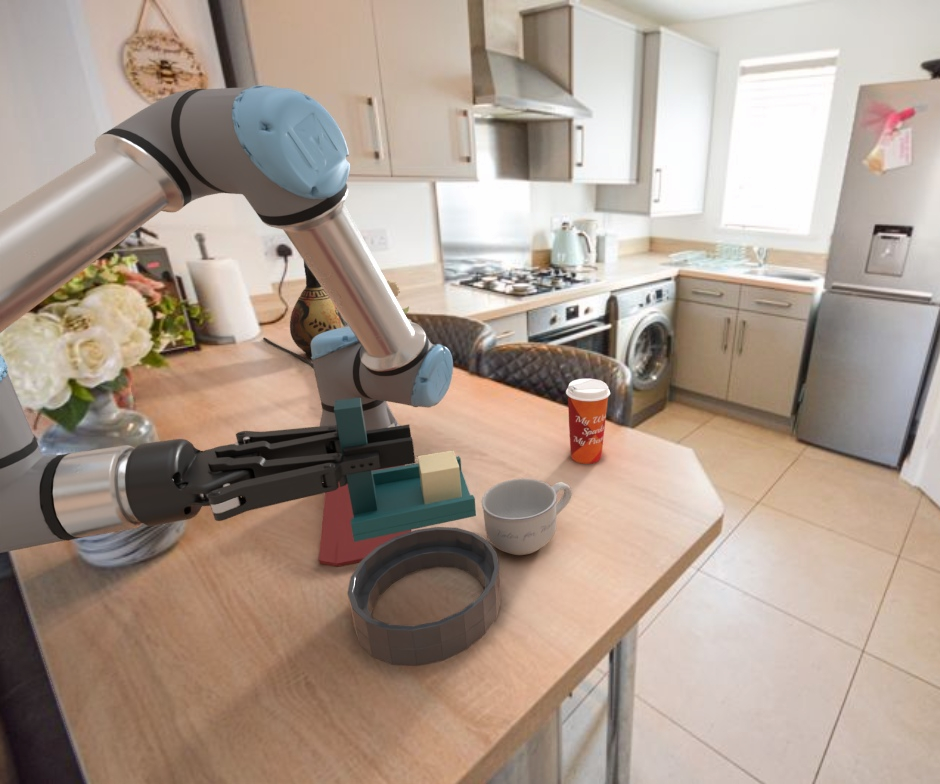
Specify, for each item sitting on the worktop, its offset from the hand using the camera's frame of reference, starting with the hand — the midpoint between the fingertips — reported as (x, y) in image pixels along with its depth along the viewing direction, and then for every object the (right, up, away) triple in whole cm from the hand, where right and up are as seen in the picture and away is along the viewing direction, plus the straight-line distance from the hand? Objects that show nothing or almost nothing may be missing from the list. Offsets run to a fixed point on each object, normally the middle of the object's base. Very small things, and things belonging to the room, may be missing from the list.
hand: (411, 443), depth 55 cm
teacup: (+10, -17, +22) cm, 30 cm away
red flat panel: (-16, -14, +27) cm, 35 cm away
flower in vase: (-32, +12, +88) cm, 95 cm away
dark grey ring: (-1, -22, +9) cm, 24 cm away
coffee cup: (+19, -7, +46) cm, 50 cm away
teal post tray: (-1, -7, +3) cm, 8 cm away
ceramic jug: (-60, +17, +99) cm, 117 cm away
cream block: (+2, -6, +4) cm, 7 cm away
